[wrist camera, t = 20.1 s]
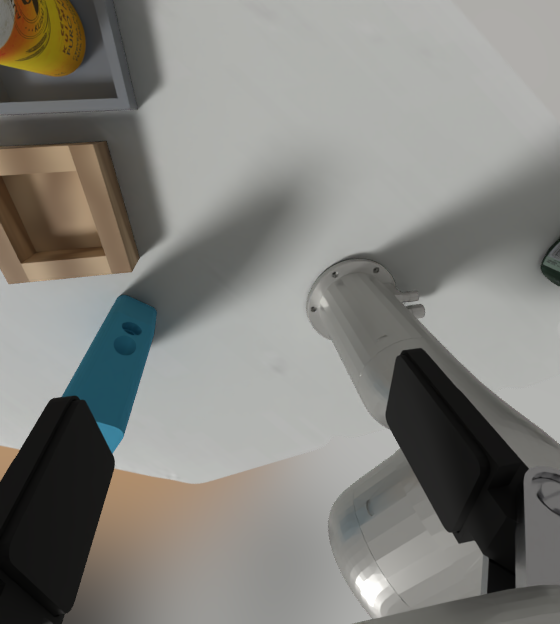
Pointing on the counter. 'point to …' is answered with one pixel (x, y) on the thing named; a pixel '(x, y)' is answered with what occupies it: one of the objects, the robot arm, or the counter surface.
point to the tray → (76, 73)
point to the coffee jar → (552, 264)
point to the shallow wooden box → (62, 213)
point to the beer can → (41, 36)
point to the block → (115, 366)
